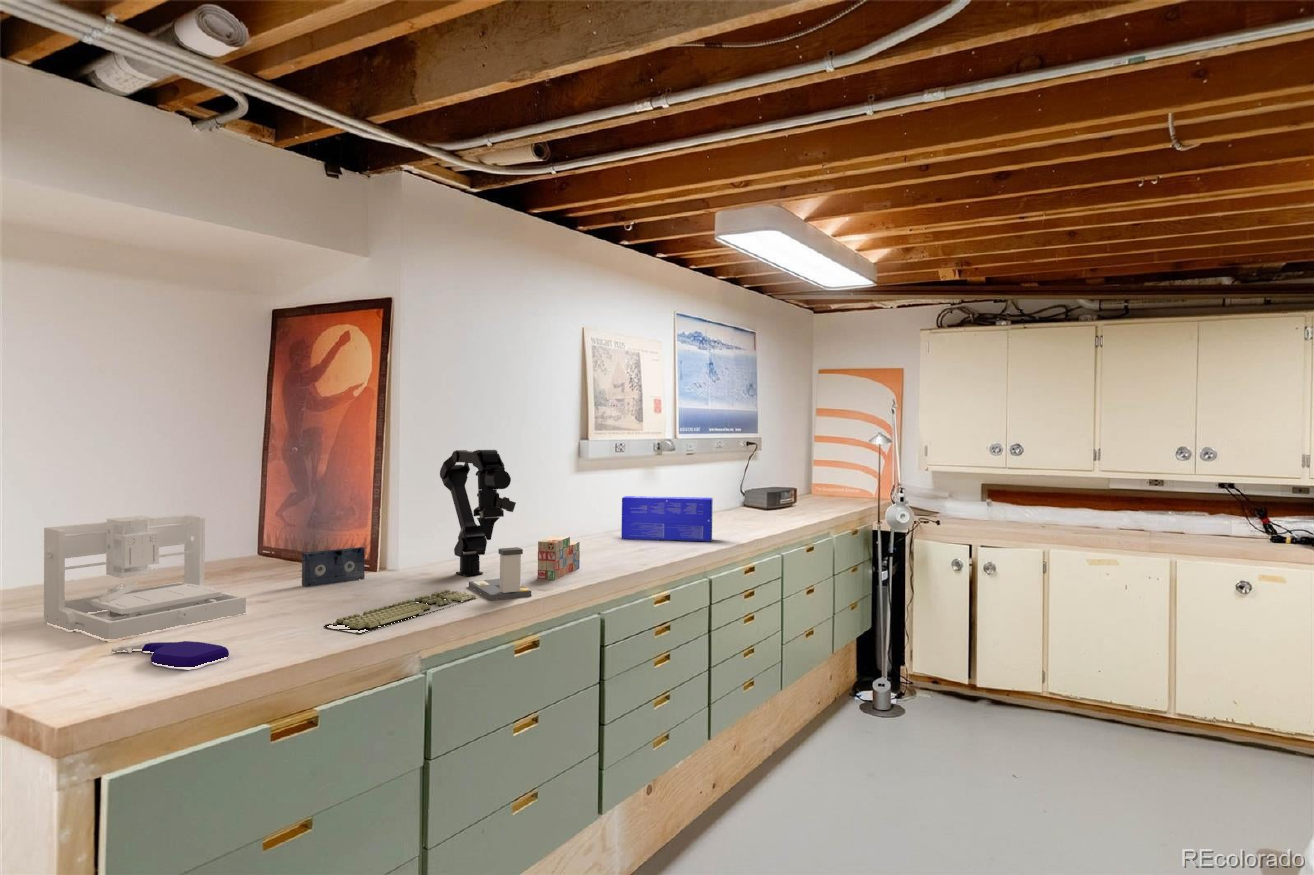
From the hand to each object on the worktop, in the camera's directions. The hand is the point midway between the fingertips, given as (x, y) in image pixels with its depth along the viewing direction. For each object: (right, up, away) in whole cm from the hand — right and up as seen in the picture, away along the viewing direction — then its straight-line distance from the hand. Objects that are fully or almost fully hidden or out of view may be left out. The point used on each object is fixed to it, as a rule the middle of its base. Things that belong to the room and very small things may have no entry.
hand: (488, 540), depth 241 cm
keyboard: (-13, -15, -38) cm, 43 cm away
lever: (+10, -12, -20) cm, 26 cm away
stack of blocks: (+20, -13, +16) cm, 29 cm away
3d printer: (-73, -13, -51) cm, 90 cm away
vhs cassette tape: (-46, -13, -5) cm, 48 cm away
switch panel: (+6, -13, -13) cm, 20 cm away
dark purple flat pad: (-49, -14, -80) cm, 95 cm away
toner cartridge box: (+57, -12, +94) cm, 110 cm away
